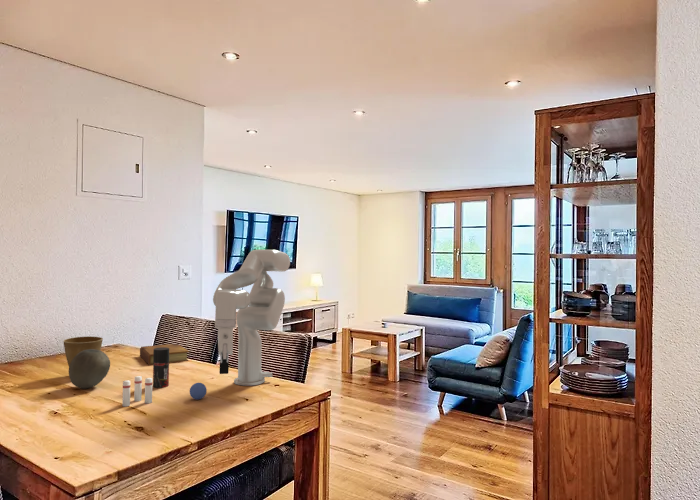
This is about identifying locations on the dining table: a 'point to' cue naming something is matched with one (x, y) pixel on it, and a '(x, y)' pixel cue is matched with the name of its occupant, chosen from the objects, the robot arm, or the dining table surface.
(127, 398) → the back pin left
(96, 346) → the plant pot
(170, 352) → the diary
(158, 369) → the deodorant
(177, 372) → the dining table surface
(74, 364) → the grey rock
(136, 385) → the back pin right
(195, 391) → the ball
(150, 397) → the front pin
